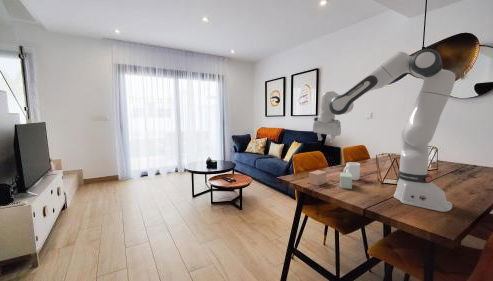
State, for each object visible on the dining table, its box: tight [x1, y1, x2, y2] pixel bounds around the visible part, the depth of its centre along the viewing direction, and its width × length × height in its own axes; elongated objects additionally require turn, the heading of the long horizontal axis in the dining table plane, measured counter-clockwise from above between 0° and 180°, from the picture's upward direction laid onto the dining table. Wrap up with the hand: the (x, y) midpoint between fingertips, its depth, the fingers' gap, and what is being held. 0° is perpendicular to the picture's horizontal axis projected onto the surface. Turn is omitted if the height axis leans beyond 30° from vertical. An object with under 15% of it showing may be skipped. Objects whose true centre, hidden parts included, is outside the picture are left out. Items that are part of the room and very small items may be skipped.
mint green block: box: [339, 172, 353, 190], centre depth 130 cm, size 6×9×7 cm
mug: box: [343, 161, 361, 181], centre depth 144 cm, size 12×8×10 cm
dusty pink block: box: [308, 169, 327, 187], centre depth 136 cm, size 6×9×7 cm
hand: (325, 141), depth 133 cm, fingers open, 8 cm apart
